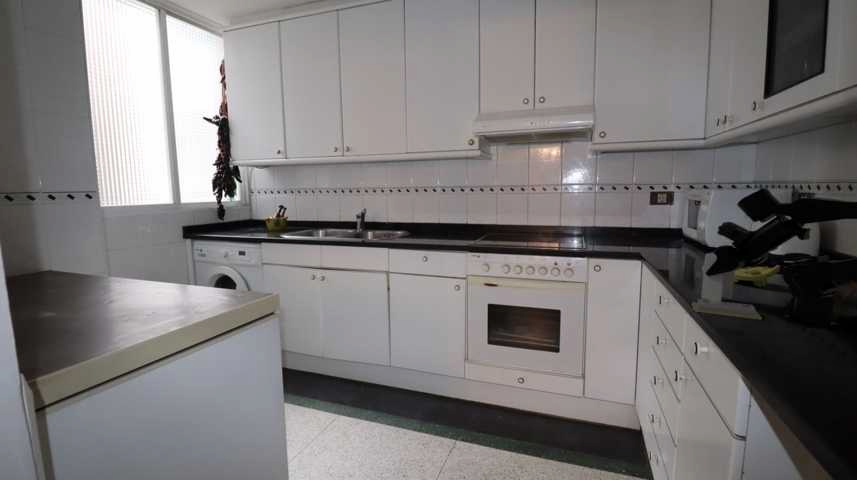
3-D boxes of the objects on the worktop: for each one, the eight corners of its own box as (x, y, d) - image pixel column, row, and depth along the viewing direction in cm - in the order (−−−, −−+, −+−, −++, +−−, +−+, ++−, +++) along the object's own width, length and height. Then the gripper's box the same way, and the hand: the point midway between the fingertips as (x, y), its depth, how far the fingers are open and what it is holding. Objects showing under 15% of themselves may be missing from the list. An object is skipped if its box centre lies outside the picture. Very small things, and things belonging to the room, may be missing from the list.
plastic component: (698, 269, 136) (718, 255, 138) (704, 288, 137) (725, 273, 139) (761, 278, 117) (783, 262, 119) (768, 300, 118) (790, 283, 120)
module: (731, 298, 107) (736, 253, 106) (720, 302, 104) (725, 256, 102) (709, 293, 112) (713, 251, 110) (697, 297, 108) (702, 253, 107)
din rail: (754, 311, 99) (755, 303, 99) (761, 319, 93) (762, 311, 93) (691, 303, 105) (692, 296, 105) (694, 311, 99) (695, 303, 99)
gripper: (758, 210, 106) (708, 246, 117) (726, 213, 96) (674, 252, 107) (793, 243, 100) (737, 278, 111) (763, 250, 91) (704, 287, 101)
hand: (713, 273), depth 108 cm, fingers closed on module, 7 cm apart
